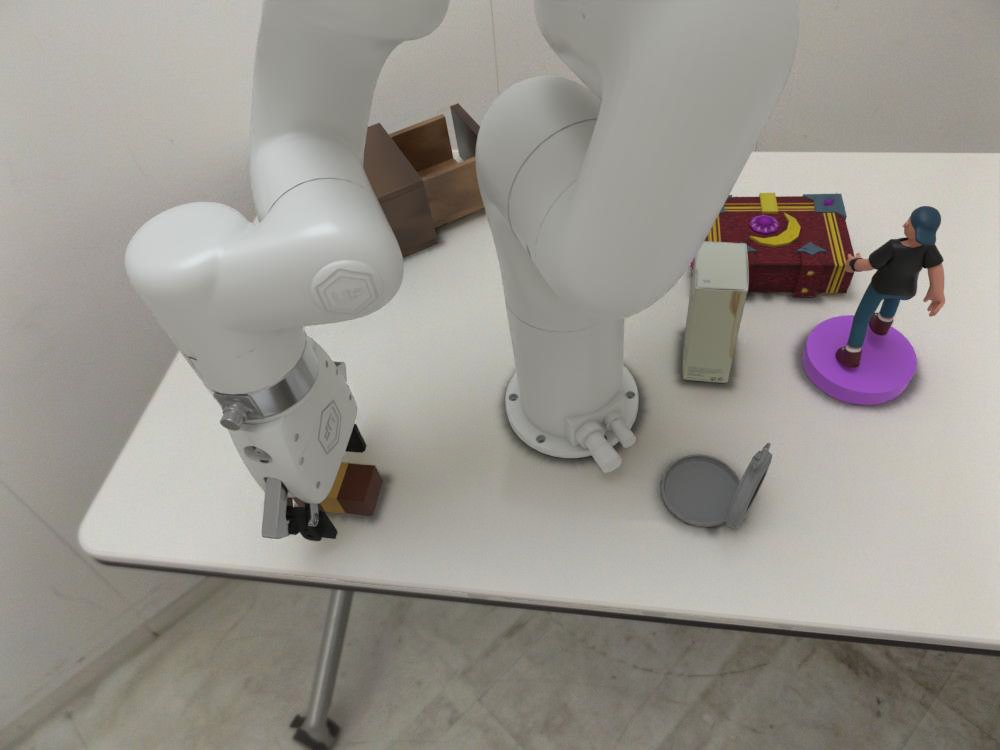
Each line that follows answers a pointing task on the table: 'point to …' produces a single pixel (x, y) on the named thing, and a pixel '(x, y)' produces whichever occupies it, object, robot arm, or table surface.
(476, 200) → the drawer
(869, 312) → the figurine
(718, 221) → the decorative book
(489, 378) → the table surface
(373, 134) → the cabinet
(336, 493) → the chocolate bar
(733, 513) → the pocket watch
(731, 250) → the cosmetic box
